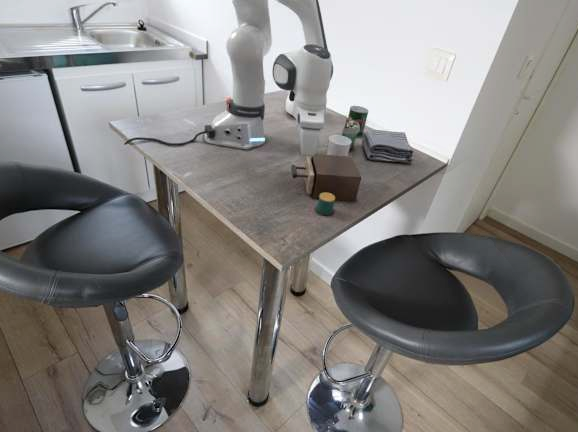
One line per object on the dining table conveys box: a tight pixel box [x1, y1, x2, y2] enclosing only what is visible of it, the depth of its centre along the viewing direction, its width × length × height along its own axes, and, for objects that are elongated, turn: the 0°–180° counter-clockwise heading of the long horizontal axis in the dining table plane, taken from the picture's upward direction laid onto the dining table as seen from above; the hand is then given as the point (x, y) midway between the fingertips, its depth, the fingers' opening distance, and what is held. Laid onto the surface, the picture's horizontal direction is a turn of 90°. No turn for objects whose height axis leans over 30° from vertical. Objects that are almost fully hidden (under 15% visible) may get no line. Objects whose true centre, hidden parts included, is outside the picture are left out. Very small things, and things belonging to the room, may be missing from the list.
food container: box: [341, 117, 360, 152], centre depth 137 cm, size 12×6×10 cm, turn 168°
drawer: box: [290, 156, 317, 196], centre depth 109 cm, size 17×12×7 cm
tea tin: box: [316, 192, 336, 216], centre depth 100 cm, size 4×4×5 cm
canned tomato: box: [347, 105, 369, 138], centre depth 150 cm, size 8×8×11 cm
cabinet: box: [310, 153, 362, 202], centre depth 110 cm, size 13×13×8 cm
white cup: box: [326, 134, 351, 157], centre depth 123 cm, size 8×8×10 cm
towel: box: [361, 129, 414, 164], centre depth 137 cm, size 15×18×8 cm
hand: (302, 156), depth 104 cm, fingers closed
